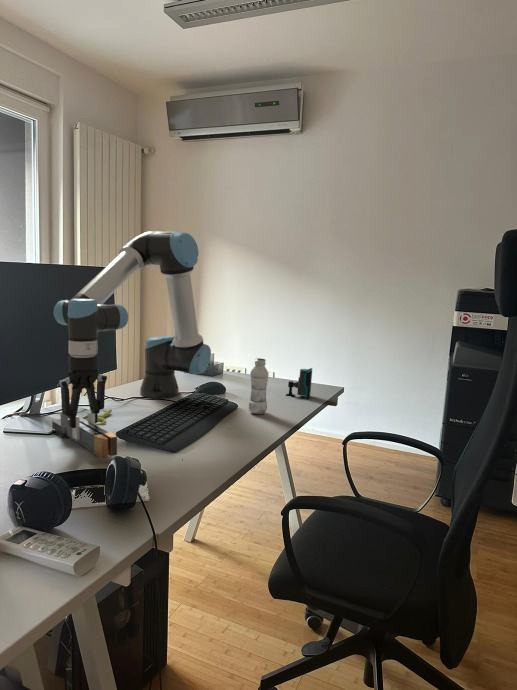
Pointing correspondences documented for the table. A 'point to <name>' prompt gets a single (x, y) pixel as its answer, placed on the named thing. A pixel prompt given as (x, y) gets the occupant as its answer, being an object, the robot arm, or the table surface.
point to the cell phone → (99, 493)
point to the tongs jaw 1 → (91, 440)
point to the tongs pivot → (61, 426)
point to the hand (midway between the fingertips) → (83, 436)
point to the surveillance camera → (302, 383)
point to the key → (102, 417)
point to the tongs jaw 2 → (111, 437)
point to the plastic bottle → (258, 387)
